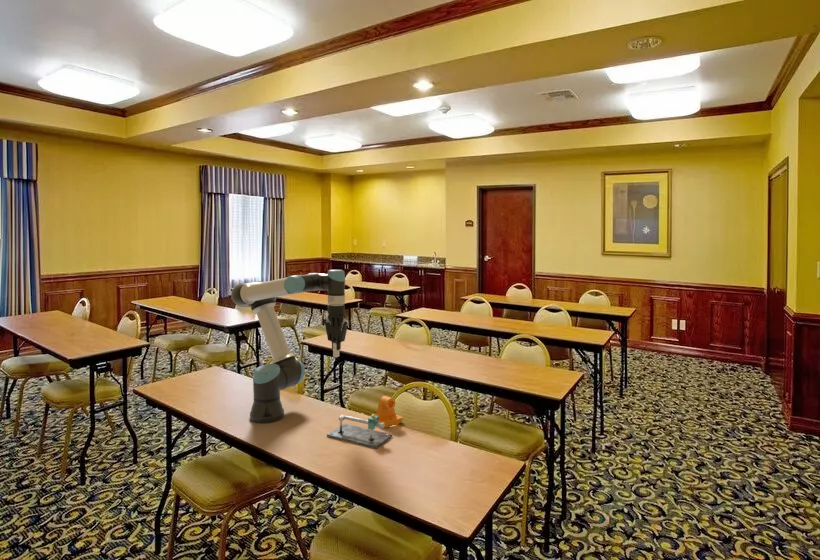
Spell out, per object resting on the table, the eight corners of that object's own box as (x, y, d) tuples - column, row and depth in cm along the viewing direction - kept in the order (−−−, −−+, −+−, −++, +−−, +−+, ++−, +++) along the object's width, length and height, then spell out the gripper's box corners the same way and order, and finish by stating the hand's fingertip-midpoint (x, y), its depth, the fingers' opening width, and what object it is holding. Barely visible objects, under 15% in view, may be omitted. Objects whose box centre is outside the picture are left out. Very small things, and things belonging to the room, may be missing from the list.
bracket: (385, 429, 207) (385, 402, 206) (374, 424, 212) (374, 398, 211) (403, 423, 214) (403, 397, 213) (392, 418, 219) (392, 393, 218)
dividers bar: (337, 432, 201) (337, 416, 200) (342, 429, 204) (342, 413, 203) (380, 442, 191) (380, 425, 191) (384, 439, 194) (384, 422, 194)
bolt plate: (326, 436, 198) (326, 433, 198) (344, 425, 210) (344, 423, 210) (376, 448, 188) (376, 445, 188) (392, 436, 199) (392, 433, 199)
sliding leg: (367, 438, 194) (367, 416, 193) (373, 434, 198) (373, 412, 197) (372, 439, 193) (373, 417, 192) (378, 435, 197) (378, 413, 196)
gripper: (319, 304, 211) (319, 356, 213) (343, 306, 205) (343, 360, 207) (329, 302, 218) (329, 353, 220) (353, 304, 212) (353, 356, 214)
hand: (336, 356), depth 214 cm, fingers closed
